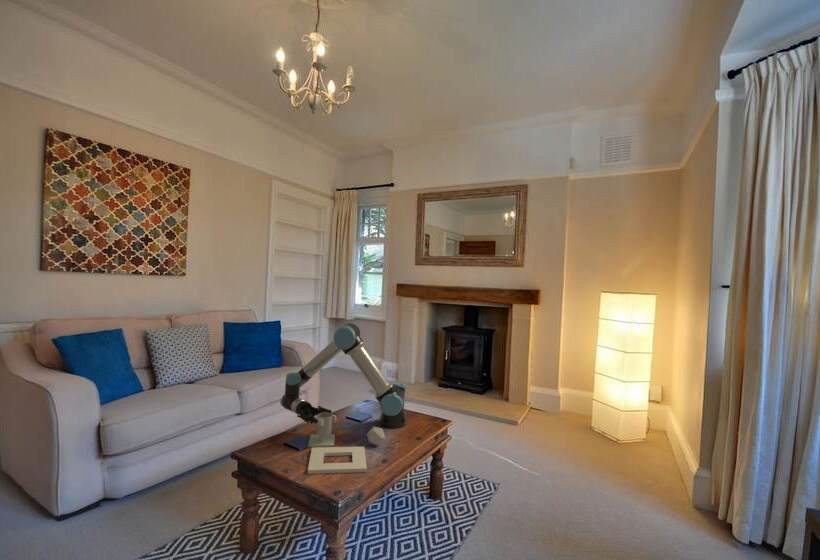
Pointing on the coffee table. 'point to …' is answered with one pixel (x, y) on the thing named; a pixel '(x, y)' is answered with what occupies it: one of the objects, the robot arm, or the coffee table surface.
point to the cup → (324, 424)
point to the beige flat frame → (320, 467)
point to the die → (376, 436)
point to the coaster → (321, 440)
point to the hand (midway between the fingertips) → (329, 421)
